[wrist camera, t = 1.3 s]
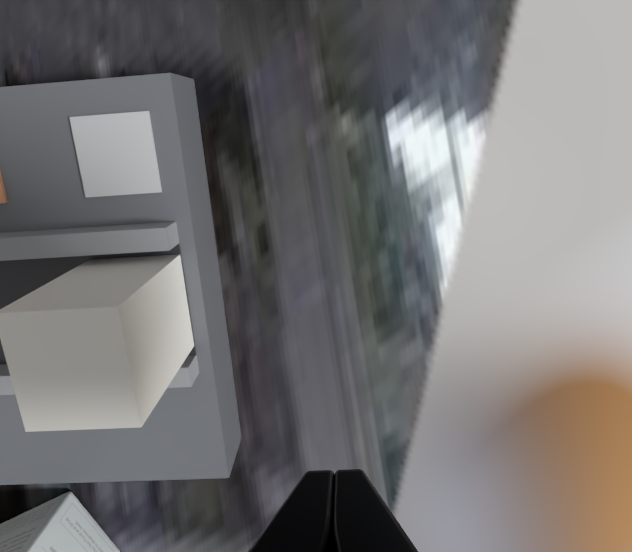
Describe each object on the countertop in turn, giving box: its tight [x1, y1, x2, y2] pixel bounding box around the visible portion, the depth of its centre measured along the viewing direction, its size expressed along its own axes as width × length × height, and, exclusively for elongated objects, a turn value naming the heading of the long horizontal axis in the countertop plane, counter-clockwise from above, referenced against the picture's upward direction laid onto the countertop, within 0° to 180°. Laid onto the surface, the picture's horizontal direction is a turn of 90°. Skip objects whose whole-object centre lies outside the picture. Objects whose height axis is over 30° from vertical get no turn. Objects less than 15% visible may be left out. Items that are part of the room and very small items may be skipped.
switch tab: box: [0, 254, 194, 432], centre depth 15 cm, size 3×3×5 cm
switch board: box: [0, 73, 241, 485], centre depth 18 cm, size 14×9×4 cm, turn 4°
